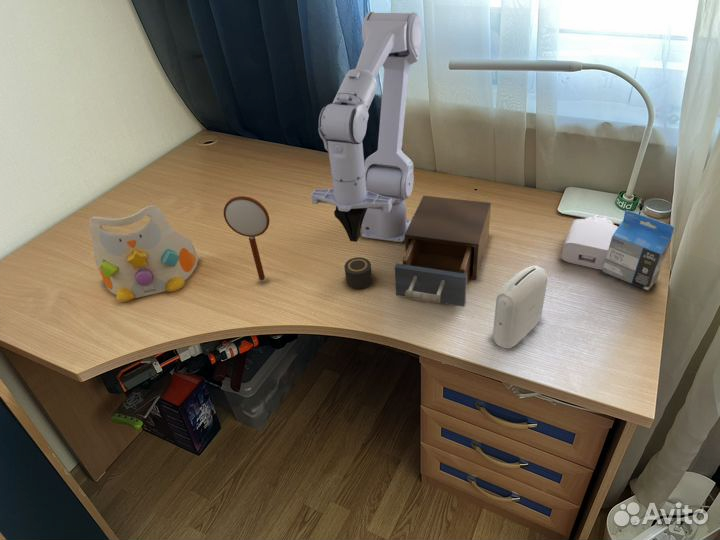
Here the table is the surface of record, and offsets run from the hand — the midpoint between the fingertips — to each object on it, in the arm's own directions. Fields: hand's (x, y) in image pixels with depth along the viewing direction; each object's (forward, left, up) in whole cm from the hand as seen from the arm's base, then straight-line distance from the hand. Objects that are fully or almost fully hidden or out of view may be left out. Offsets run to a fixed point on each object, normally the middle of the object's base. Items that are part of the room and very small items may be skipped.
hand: (355, 238), depth 100 cm
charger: (+43, +22, -11) cm, 49 cm away
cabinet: (+15, +13, -10) cm, 22 cm away
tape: (0, 0, -10) cm, 10 cm away
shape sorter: (-42, -11, -11) cm, 45 cm away
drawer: (+15, +1, -10) cm, 18 cm away
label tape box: (+49, +13, -10) cm, 52 cm away
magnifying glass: (-19, -5, -11) cm, 22 cm away
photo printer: (+31, -6, -11) cm, 33 cm away
